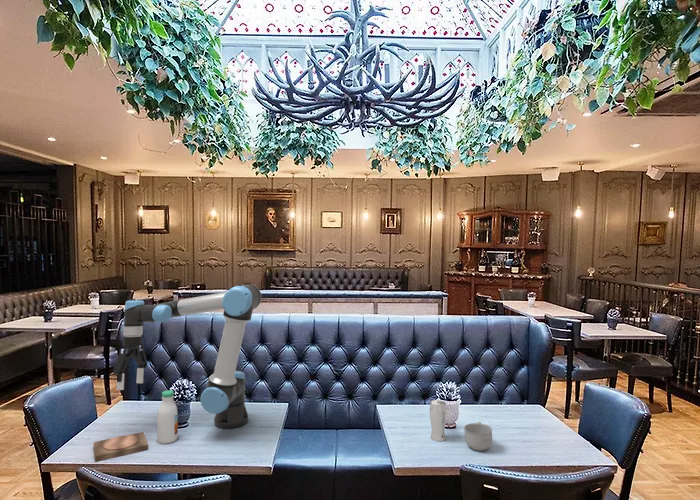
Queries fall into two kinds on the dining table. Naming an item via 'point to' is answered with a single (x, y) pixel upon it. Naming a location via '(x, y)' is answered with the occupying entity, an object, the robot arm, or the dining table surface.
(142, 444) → the serving board
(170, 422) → the milk bottle
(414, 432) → the dining table surface
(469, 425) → the teacup
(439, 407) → the beer glass
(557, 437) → the dining table surface
